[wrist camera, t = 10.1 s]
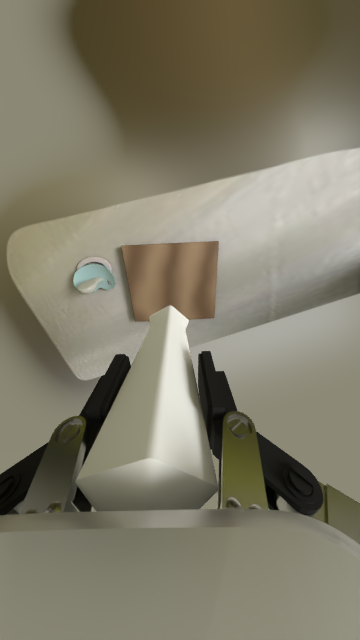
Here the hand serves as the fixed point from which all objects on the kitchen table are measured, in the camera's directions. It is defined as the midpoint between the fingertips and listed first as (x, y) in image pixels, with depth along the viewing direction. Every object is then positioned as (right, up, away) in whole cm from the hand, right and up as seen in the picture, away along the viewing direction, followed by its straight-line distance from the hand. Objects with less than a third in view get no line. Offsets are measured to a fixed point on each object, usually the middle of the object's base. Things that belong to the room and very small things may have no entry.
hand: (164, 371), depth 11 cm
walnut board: (0, +10, +21) cm, 23 cm away
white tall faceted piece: (0, +3, +6) cm, 7 cm away
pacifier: (-14, +12, +20) cm, 28 cm away
